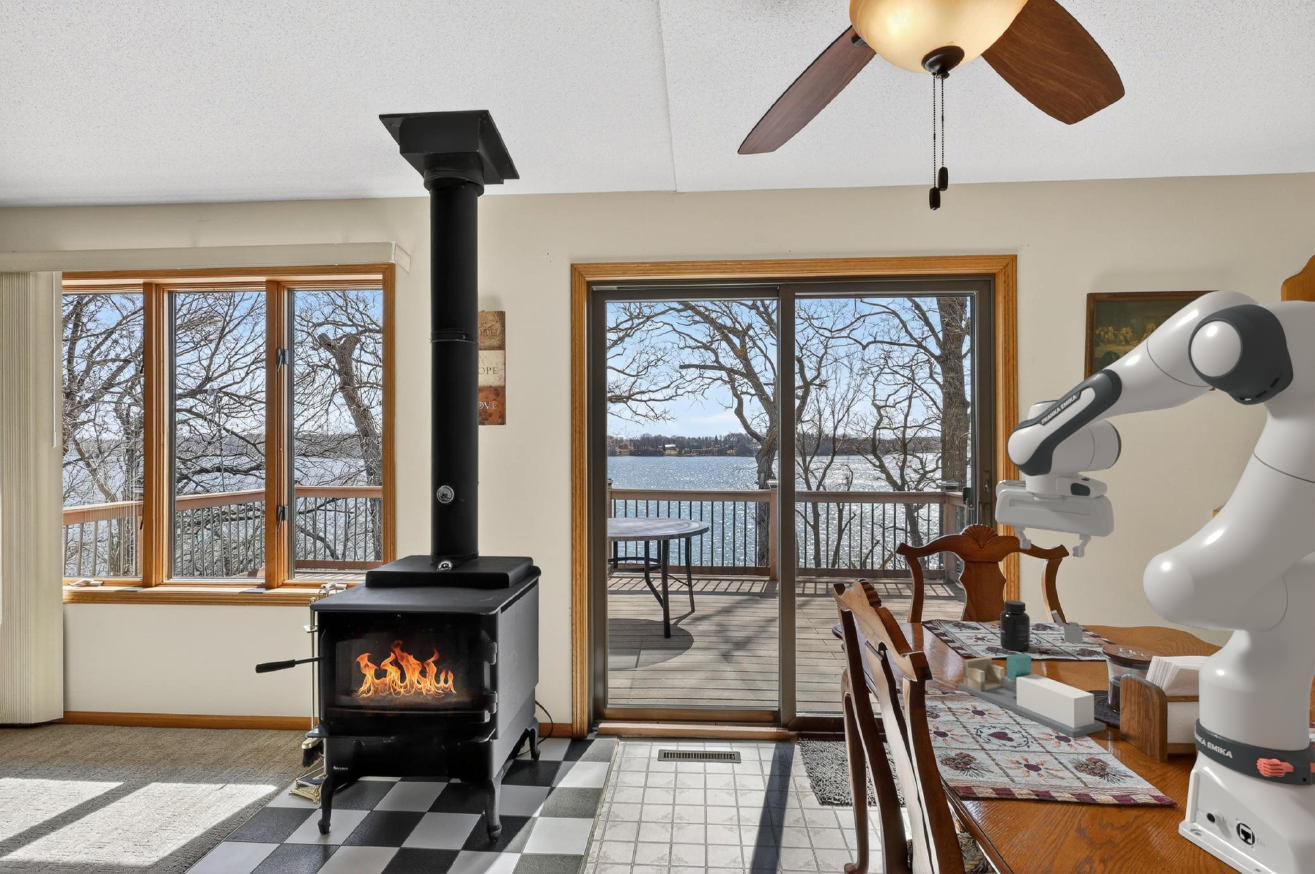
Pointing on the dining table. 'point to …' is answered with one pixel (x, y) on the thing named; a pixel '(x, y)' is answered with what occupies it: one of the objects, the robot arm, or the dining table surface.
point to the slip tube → (1016, 670)
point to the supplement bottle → (1015, 627)
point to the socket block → (982, 674)
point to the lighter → (1069, 629)
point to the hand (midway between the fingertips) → (1051, 552)
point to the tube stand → (1046, 704)
